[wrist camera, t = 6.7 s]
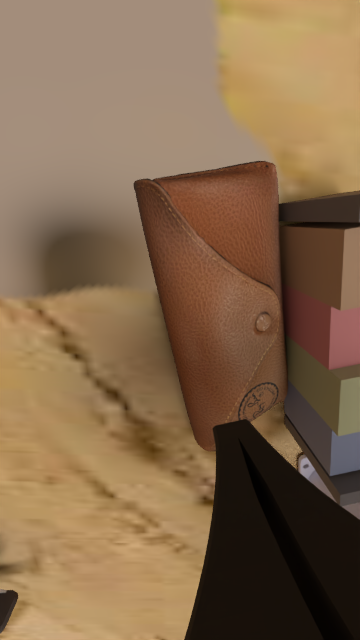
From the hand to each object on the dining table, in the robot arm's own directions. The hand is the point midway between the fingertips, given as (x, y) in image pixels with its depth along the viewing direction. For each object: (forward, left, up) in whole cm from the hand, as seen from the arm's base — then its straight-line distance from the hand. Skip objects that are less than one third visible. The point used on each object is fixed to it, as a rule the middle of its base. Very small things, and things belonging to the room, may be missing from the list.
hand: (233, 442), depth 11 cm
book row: (0, -8, -9) cm, 12 cm away
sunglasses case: (+2, -2, -10) cm, 10 cm away
